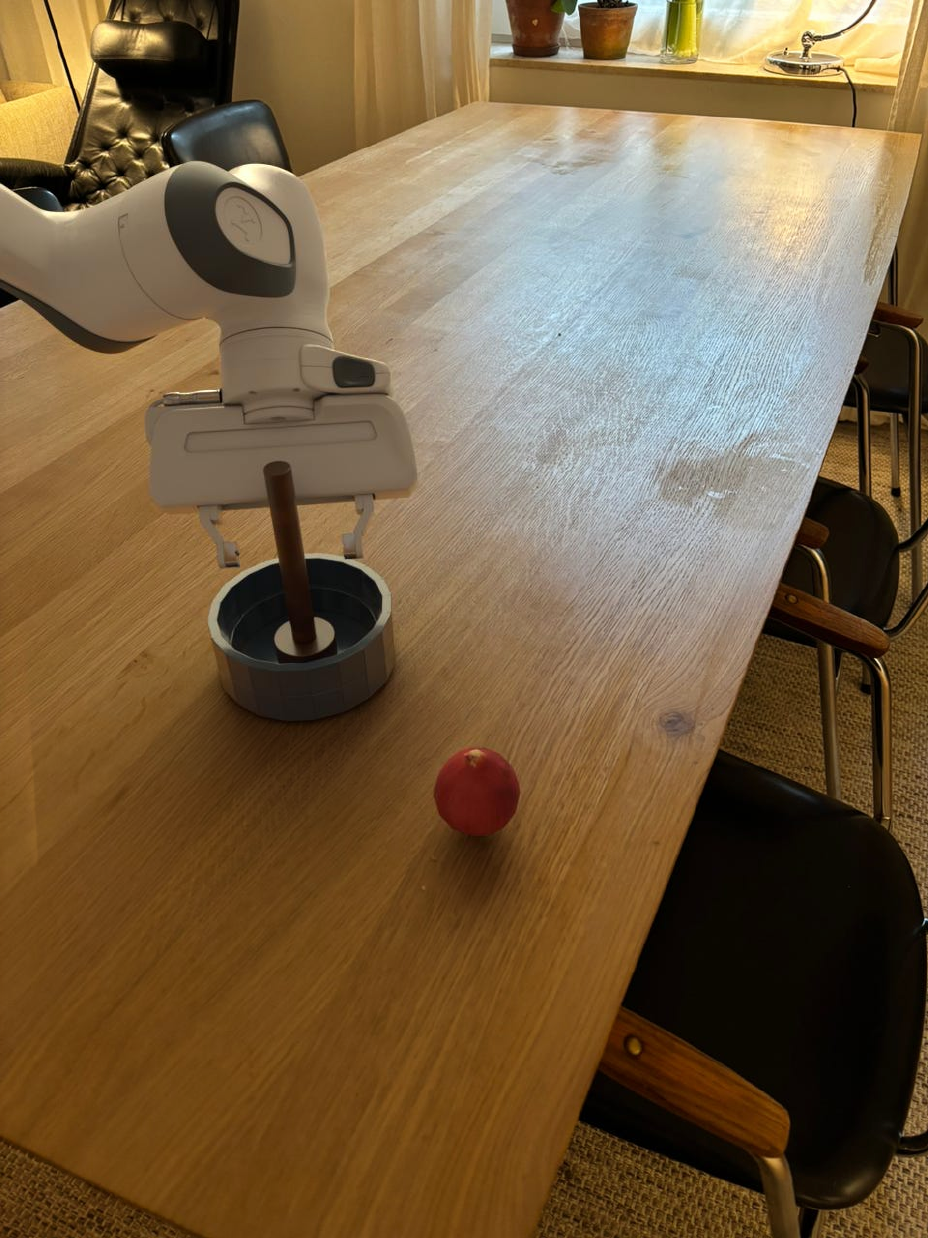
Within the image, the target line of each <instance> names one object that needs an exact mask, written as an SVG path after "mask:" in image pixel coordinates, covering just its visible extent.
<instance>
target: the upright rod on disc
mask: <svg viewBox="0 0 928 1238" xmlns="http://www.w3.org/2000/svg"><path fill="white" fill-rule="evenodd" d="M263 474H264V479H265V485H266V491H267V497H268V502H269V508H268V509H269V513H270V518H271V524H272V525H271V526H272V530H273V536H274V542H275V548H276V552H277V558H278V559H279V565H280V571H281V576H282V582H283V588H284V594H285V599H286V605H287V611H288V616H289V621H288V622H286V623H284V624H283V625H282V626H280V627H279V629H278V630H277V631H276V633H275V636H274V644H275V649H276V655H277V660H278V664H292V663H308V662H312V661H316V660H320V659H323V658H327V657H331V656H335V655H337V654H338V651H337V643H336V636H335V630H334V628H333V626H332V625H331V624H330V623H329V622H328V621H326V620H324V619H322V618H318V617H314V613H313V607H312V600H311V594H310V587H309V581H308V574H307V568H306V561H305V555H304V554H305V550H304V541H303V538H302V537H303V536H302V529H301V523H300V517H299V510H298V506H297V503H296V496H295V490H294V483H293V476H292V470H291V466H290V464H289V463H287V462H284V461H274V462H270V463H268V464H266V465H265V466H264V468H263Z"/></svg>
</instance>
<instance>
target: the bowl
mask: <svg viewBox="0 0 928 1238" xmlns="http://www.w3.org/2000/svg"><path fill="white" fill-rule="evenodd" d="M304 555H305V561H306V568H307V574H308V581H309V587H310V594H311V600H312V607H313V613H314V617H318V618H322V619H324V620H326V621H328V622H329V623H330V624H331V625H332V626H333V628H334V630H335V636H336V643H337V651H338V654H337V655H335V656H331V657H327V658H323V659H320V660H316V661H312V662H308V663H292V664H278V660H277V655H276V649H275V644H274V636H275V633H276V631H277V630H278V629H279V627H280V626H282V625H283V624H284V623H286V622H288V621H289V616H288V611H287V605H286V599H285V594H284V588H283V582H282V576H281V571H280V565H279V559H278V557H275V558H272V559H268V560H264V561H262V562H259V563H257V564H255V565H253V566H251V567H248V568H246V569H244V570H242V571H241V572H239V573H238V574H237V575H235V576H234V577H233V578H231V579H230V580H229V581H227V582H226V583H225V584H224V585H223V586H222V587H221V589H220V590H219V591H218V593H216V595H215V597H214V598H213V599H212V601H211V603H210V605H209V610H208V614H207V617H206V618H207V619H206V624H207V628H208V633H209V637H210V641H211V645H212V649H213V653H214V657H215V661H216V664H217V665H216V666H217V670H218V674H219V677H220V680H221V684H222V687H223V690H224V691H225V692H226V693H227V694H228V695H229V696H230V698H231V699H232V700H233V701H234V702H235V703H236V704H237V705H238V706H240V707H242V708H244V709H246V710H248V711H249V712H251V713H254V714H256V715H258V716H259V717H264V718H268V719H274V720H278V721H285V722H296V721H297V722H299V721H300V722H301V721H317V720H321V719H323V718H328V717H331V716H334V715H338V714H341V713H345V712H347V711H350V710H351V709H352V708H355V707H356V706H358V705H360V704H362V703H364V702H365V701H367V700H369V699H370V698H371V697H373V696H374V695H375V693H377V691H378V690H380V689H381V687H382V686H384V684H386V682H387V681H388V679H389V677H390V675H391V673H392V671H393V669H394V667H395V664H396V662H397V641H396V639H397V638H396V629H395V617H394V605H393V595H392V592H391V591H390V589H389V586H388V585H387V583H386V581H385V579H384V578H383V577H382V576H381V575H379V573H377V572H376V571H374V570H373V569H372V568H371V567H370V566H369V565H367V564H365V563H362V562H359V561H357V560H356V559H345V558H344V555H343V556H342V555H336V554H330V553H324V552H310V553H304Z"/></svg>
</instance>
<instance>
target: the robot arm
mask: <svg viewBox="0 0 928 1238" xmlns="http://www.w3.org/2000/svg"><path fill="white" fill-rule="evenodd" d="M323 231H324V230H323V227H322V223H321V217H320V215H319V212H318V208H317V205H316V202H315V199H314V197H313V195H312V192H311V190H310V189H309V188H308V186H307V185H306V183H305V182H303V180H301V178H299V177H298V176H297V175H295V174H294V173H292V172H290V171H288V170H285V169H283V168H281V167H279V166H276V165H270V164H263V163H249V164H248V163H247V164H242V165H239V166H235V167H233V168H232V169H230V170H229V171H227V170H225V169H223V168H221V167H219V166H217V165H215V164H212V163H210V162H207V161H201V160H191V161H188V162H184V163H181V164H179V165H175V166H172V167H169V168H168V169H166V170H163V171H161V172H159V173H157V174H154V175H153V176H150V177H149V178H147V179H144V180H142V181H141V182H138V183H137V184H135V185H133V186H131V187H130V188H128V189H126V190H124V191H122V192H120V193H118V194H116V195H113V196H112V197H110V198H107V199H106V200H103V201H101V202H99V203H97V204H95V205H93V206H90V207H86V208H82V209H77V210H71V211H49V210H44V209H42V208H39V207H37V206H36V205H35V204H33V203H31V202H30V201H28V200H26V199H25V198H23V197H21V195H19V194H18V193H16V192H14V191H13V190H11V189H9V188H8V187H7V186H5V185H4V184H2V183H0V289H1V290H3V291H5V292H6V293H9V294H11V295H12V296H14V297H15V298H17V299H19V300H20V301H22V302H23V303H25V304H26V305H27V306H29V307H30V308H32V310H34V311H35V312H36V313H38V314H39V315H40V316H41V317H42V318H43V319H45V320H46V321H47V322H48V324H49V323H50V325H52V327H54V328H55V329H56V330H58V331H59V332H60V333H61V334H62V335H64V336H65V337H67V338H68V339H69V340H71V341H72V342H73V343H75V344H77V345H79V346H81V347H83V348H84V349H86V350H89V351H91V352H95V353H98V354H103V355H117V354H122V353H127V352H128V351H131V350H132V349H134V348H136V347H138V346H140V345H143V344H144V343H146V342H147V341H150V340H152V339H154V338H155V337H157V336H159V335H160V334H163V333H166V332H169V331H171V330H175V329H177V328H180V327H182V326H185V325H188V324H191V323H193V322H196V321H199V320H202V319H203V318H205V319H206V320H209V321H212V322H214V323H216V324H217V325H218V326H219V329H220V334H219V338H218V357H219V358H218V359H219V372H220V373H219V374H220V385H221V387H220V388H219V389H214V388H213V389H203V390H196V391H190V392H180V391H172V392H165V393H164V394H163V395H162V396H161V397H162V398H158V399H156V400H155V401H153V402H152V403H151V404H150V405H149V406H148V407H147V409H146V411H145V414H144V431H145V439H146V442H147V443H148V445H149V446H150V456H149V469H148V470H149V471H148V491H149V492H148V493H149V497H150V499H151V501H152V502H153V503H154V504H155V506H157V507H158V508H159V509H160V510H161V511H163V512H165V513H166V514H168V515H184V514H185V515H186V514H199V522H200V524H201V525H202V527H203V528H204V530H205V531H206V532H207V534H208V535H209V537H210V538H211V540H212V542H213V543H214V544H215V546H216V560H217V566H218V568H220V569H222V570H224V569H236V568H241V567H242V559H241V558H240V557H239V556H240V555H241V548H240V546H241V545H240V544H238V542H236V541H227V540H226V539H225V537H224V536H223V534H222V532H221V531H220V529H219V528H218V527H217V526H222V525H223V524H224V512H226V511H227V512H228V511H240V510H241V511H242V510H255V509H270V508H269V502H268V497H267V491H266V485H265V479H264V474H263V468H264V466H265V465H266V464H268V463H270V462H274V461H284V462H287V463H289V464H290V466H291V470H292V476H293V483H294V490H295V496H296V503H297V507H299V506H314V505H325V504H326V505H327V504H340V503H354V507H355V511H356V514H357V516H359V518H358V520H357V523H356V524H355V527H354V529H353V531H352V532H350V533H342V535H341V537H342V544H343V548H342V549H343V552H342V553H343V556H344V558H345V559H352V560H360V559H365V554H364V553H365V552H364V540H363V537H365V535H366V533H367V531H368V529H369V527H370V525H371V522H372V521H373V518H374V516H375V501H383V500H396V499H407V498H410V497H411V496H412V494H413V493H414V492H415V491H416V489H417V487H418V486H419V477H418V467H417V458H416V455H415V454H416V453H415V448H414V442H413V439H412V433H411V429H410V426H409V422H408V418H407V416H406V413H405V411H404V409H403V407H402V406H401V404H400V403H399V402H398V401H397V400H396V399H395V383H394V378H393V374H392V371H391V369H390V367H389V366H388V365H387V364H386V363H385V362H382V361H379V360H377V359H376V360H375V359H372V358H367V357H363V356H358V355H355V354H351V353H348V352H347V353H346V352H343V351H339V350H336V349H335V343H334V338H333V337H334V336H333V334H332V332H331V329H330V326H329V322H328V306H329V303H330V298H331V297H330V296H331V287H330V274H329V264H328V256H327V249H326V242H325V237H324V232H323ZM160 405H163V406H160Z"/></svg>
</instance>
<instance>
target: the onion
mask: <svg viewBox="0 0 928 1238" xmlns="http://www.w3.org/2000/svg"><path fill="white" fill-rule="evenodd" d="M520 796H521V788H520V783H519V779H518V776H517V772H516V771H515V768H514V767H513V765H512V764H510V762H509V761H508V760H507V759H506V758H505V757H504V756H503V755H502V754H501V753H499V752H497V751H494V750H492V749H489V748H486V747H467V748H464V749H462V750H459V751H457V752H456V753H454V754H453V755H452V756H450V757H449V758H447V760H446V761H445V762H444V764H443V766H442V767H441V768H440V770H439V771H438V773H437V776H436V780H435V784H434V788H433V798H434V802H435V805H436V809H437V811H438V816H440V818H441V819H442V820H443V821H444V822H445V823H446V824H447V825H448V826H449V827H450V828H451V829H452V830H453V831H456V832H458V833H461V834H462V835H467V836H472V837H481V836H482V837H483V836H489V835H493V834H494V833H496V832H499V831H500V830H502V829H504V828H505V827H506V826H507V825H508V824H509V822H510V821H511V820H512V819H513V817H514V816H515V814H516V813H517V809H518V806H519V801H520Z"/></svg>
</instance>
